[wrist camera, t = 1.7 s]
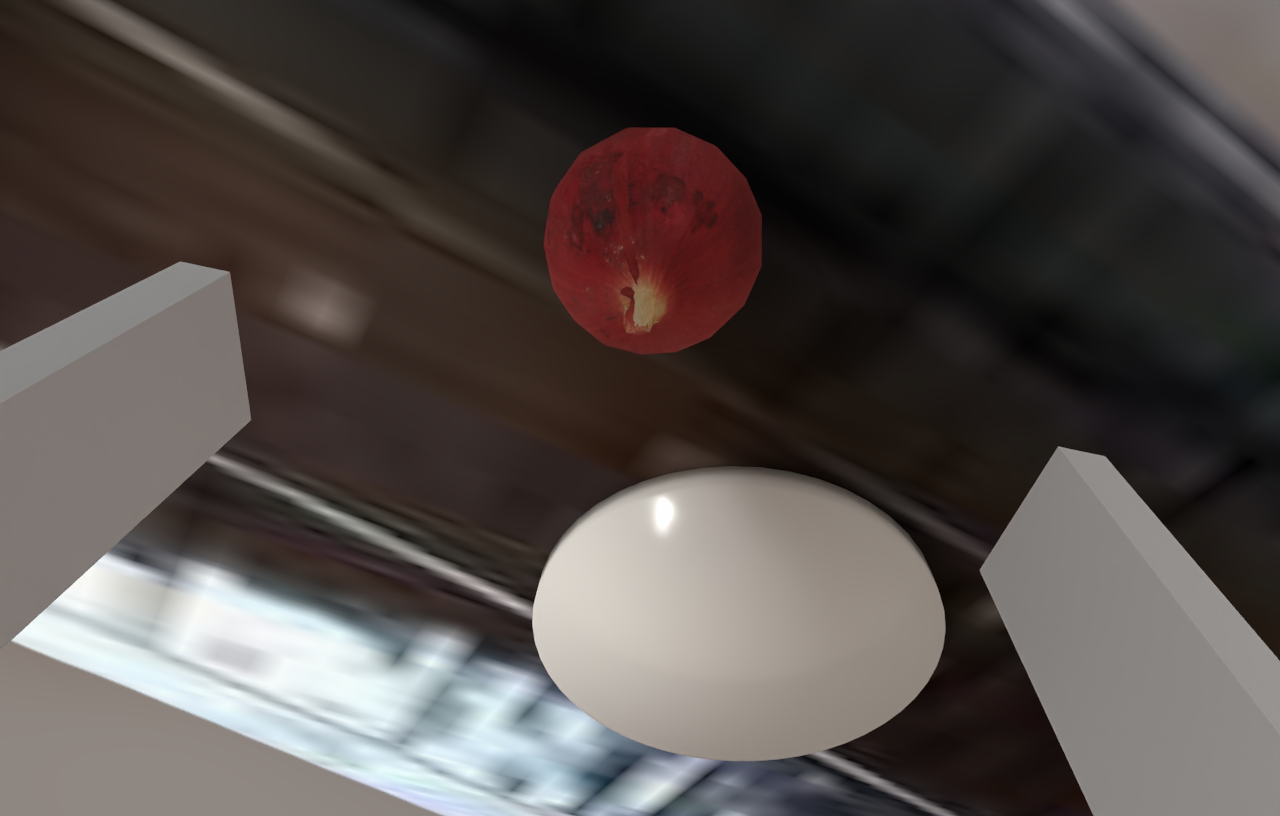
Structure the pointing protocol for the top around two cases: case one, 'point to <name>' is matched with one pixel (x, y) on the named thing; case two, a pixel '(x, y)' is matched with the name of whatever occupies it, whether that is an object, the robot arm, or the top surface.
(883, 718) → the plate
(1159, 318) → the top surface
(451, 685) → the top surface
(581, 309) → the onion
